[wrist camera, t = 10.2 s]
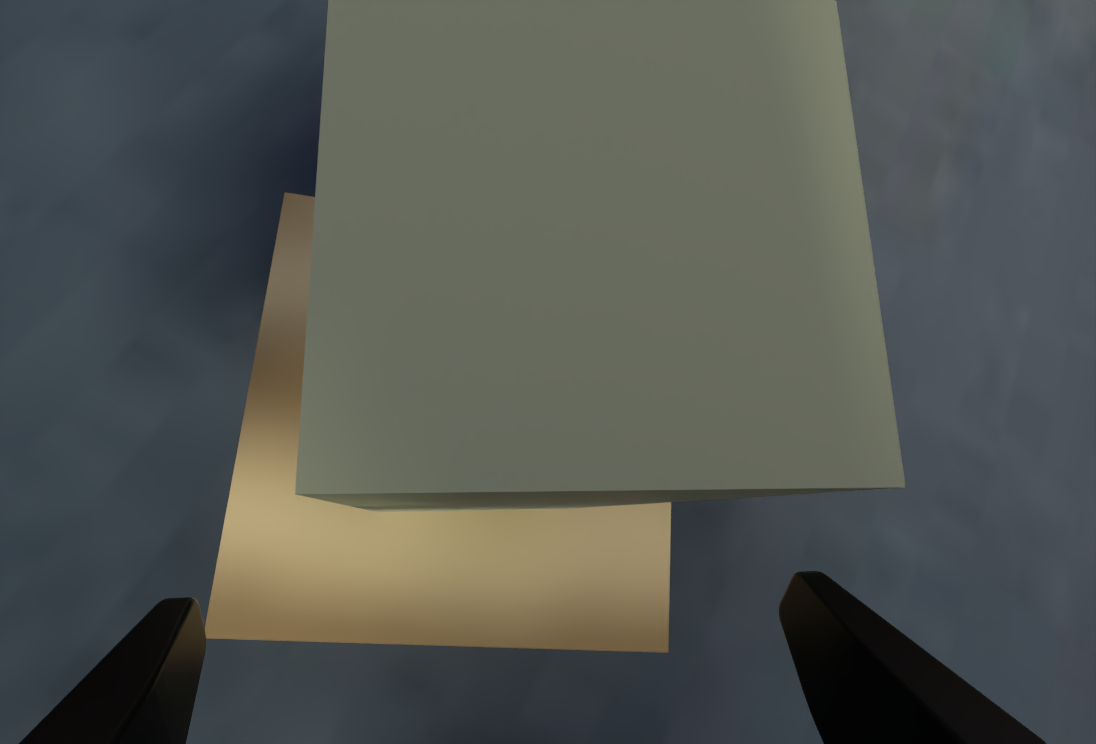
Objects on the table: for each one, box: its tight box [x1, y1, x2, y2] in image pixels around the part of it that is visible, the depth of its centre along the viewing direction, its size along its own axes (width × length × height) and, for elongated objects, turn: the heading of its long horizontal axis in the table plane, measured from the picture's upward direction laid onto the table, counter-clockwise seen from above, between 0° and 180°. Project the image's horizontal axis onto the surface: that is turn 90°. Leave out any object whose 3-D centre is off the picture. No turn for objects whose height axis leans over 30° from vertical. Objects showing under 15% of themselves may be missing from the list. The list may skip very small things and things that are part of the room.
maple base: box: [205, 192, 671, 653], centre depth 19 cm, size 12×12×3 cm
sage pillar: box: [295, 0, 905, 512], centre depth 12 cm, size 5×5×13 cm
